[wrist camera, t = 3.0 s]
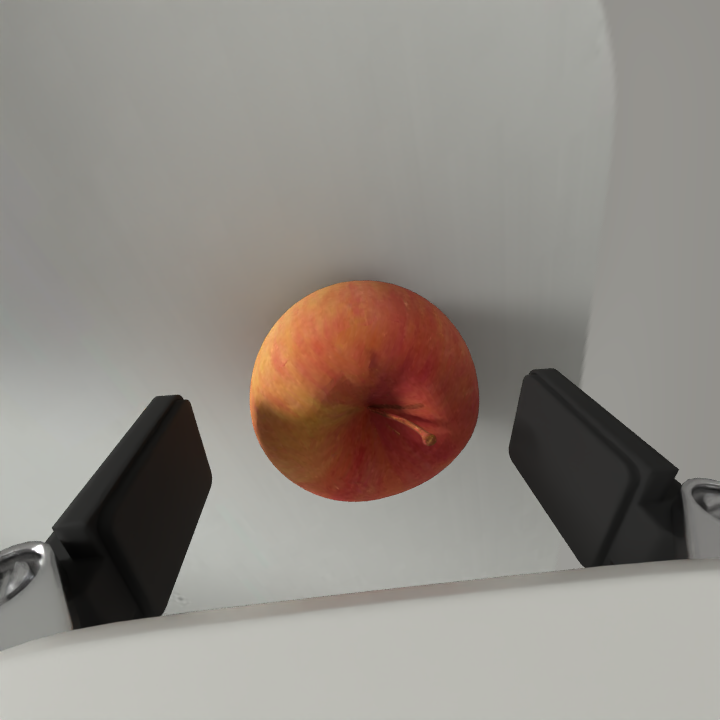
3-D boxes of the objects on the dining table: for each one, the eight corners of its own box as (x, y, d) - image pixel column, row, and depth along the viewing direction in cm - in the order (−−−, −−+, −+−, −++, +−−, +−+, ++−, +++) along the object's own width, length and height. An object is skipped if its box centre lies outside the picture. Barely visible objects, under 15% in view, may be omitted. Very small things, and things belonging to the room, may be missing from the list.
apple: (235, 340, 15) (154, 479, 8) (360, 216, 13) (397, 254, 6) (351, 434, 18) (366, 599, 11) (467, 342, 16) (577, 468, 9)
